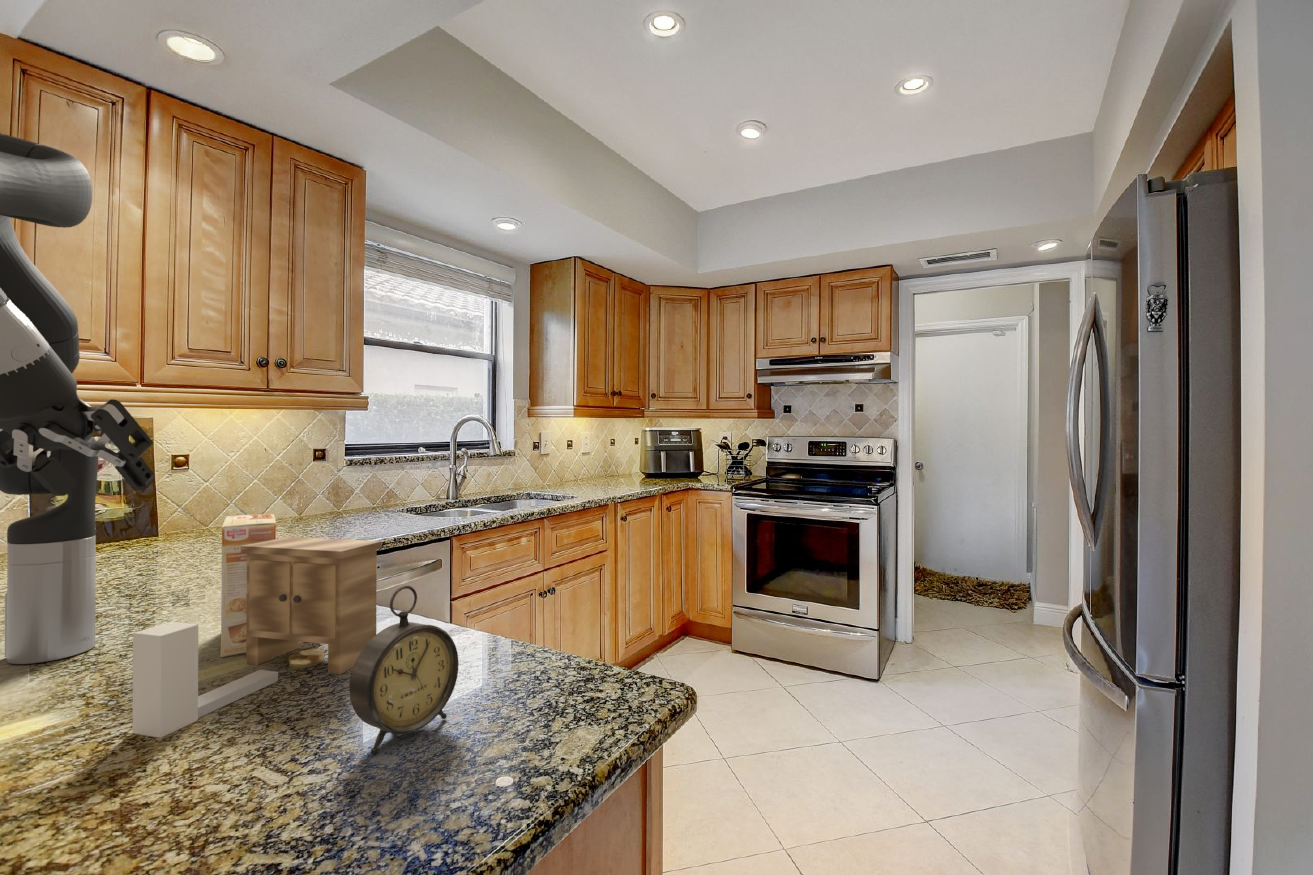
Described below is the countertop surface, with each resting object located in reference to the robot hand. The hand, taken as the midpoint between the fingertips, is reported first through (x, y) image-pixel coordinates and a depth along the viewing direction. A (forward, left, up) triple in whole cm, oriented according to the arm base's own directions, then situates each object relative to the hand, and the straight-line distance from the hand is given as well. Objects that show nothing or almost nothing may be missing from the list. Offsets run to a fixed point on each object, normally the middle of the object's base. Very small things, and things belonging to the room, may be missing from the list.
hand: (106, 488), depth 62 cm
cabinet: (+4, +24, -27) cm, 36 cm away
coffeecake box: (-13, +28, -27) cm, 42 cm away
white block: (+4, +9, -27) cm, 29 cm away
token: (+4, +23, -27) cm, 36 cm away
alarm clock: (+31, +8, -27) cm, 42 cm away
